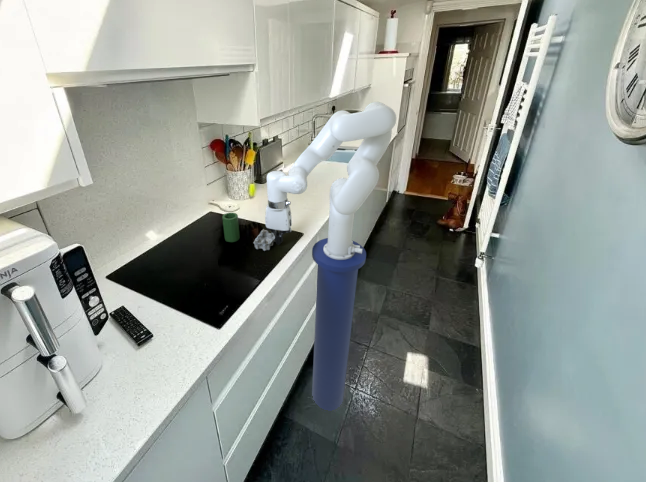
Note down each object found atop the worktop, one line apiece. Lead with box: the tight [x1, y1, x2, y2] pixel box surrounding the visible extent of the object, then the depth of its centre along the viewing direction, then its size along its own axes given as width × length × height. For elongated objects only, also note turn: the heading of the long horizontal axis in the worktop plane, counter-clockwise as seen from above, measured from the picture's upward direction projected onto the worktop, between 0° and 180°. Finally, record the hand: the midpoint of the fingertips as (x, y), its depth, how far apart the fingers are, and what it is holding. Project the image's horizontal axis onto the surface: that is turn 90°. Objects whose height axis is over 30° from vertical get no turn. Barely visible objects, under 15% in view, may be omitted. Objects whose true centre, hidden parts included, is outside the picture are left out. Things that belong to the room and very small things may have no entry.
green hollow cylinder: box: [221, 212, 241, 243], centre depth 132 cm, size 6×6×11 cm
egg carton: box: [252, 228, 276, 251], centre depth 129 cm, size 11×8×4 cm
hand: (279, 242), depth 127 cm, fingers closed
